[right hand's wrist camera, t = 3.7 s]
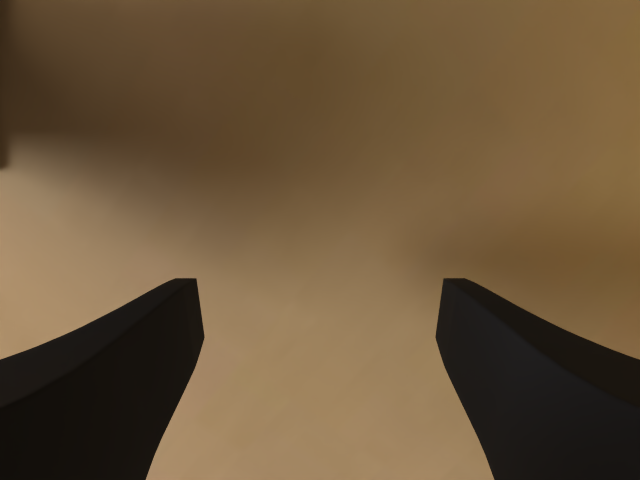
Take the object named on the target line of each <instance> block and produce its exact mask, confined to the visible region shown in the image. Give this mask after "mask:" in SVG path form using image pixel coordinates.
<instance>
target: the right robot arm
mask: <svg viewBox="0 0 640 480" xmlns="http://www.w3.org/2000/svg"><path fill="white" fill-rule="evenodd" d="M203 341H204V330H203V323H202V316H201V308H200V301H199V294H198V287H197V280H196V278H175V279H173V280H170V281H168V282H166V283H164V284H162V285H160V286H158V287H156V288H154V289H153V290H151V291H149V292H147V293H145V294H143V295H142V296H140V297H138V298H136V299H134V300H133V301H131V302H129V303H127V304H125V305H123V306H122V307H120V308H118V309H116V310H114V311H112V312H110V313H108V314H106V315H104V316H102V317H100V318H98V319H96V320H94V321H92V322H90V323H89V324H87V325H85V326H83V327H80V328H78V329H76V330H74V331H72V332H70V333H67V334H65V335H63V336H61V337H58V338H56V339H54V340H51V341H49V342H46V343H44V344H42V345H39V346H37V347H34V348H32V349H29V350H26V351H24V352H21V353H18V354H15V355H12V356H9V357H7V358H4V359H1V360H0V480H146V477H147V474H148V471H149V469H150V466H151V463H152V460H153V457H154V455H155V453H156V450H157V448H158V446H159V443H160V441H161V439H162V436H163V434H164V432H165V430H166V428H167V426H168V424H169V422H170V420H171V418H172V415H173V413H174V411H175V409H176V407H177V405H178V403H179V401H180V399H181V397H182V395H183V393H184V390H185V388H186V386H187V384H188V382H189V380H190V378H191V375H192V373H193V371H194V369H195V366H196V363H197V360H198V357H199V354H200V351H201V347H202V344H203ZM436 341H437V344H438V347H439V351H440V354H441V357H442V360H443V363H444V366H445V369H446V371H447V373H448V375H449V378H450V380H451V382H452V384H453V386H454V388H455V390H456V393H457V395H458V397H459V399H460V401H461V403H462V405H463V407H464V409H465V411H466V413H467V415H468V418H469V420H470V422H471V424H472V426H473V428H474V430H475V432H476V434H477V436H478V439H479V441H480V443H481V446H482V448H483V450H484V453H485V455H486V457H487V460H488V463H489V466H490V469H491V471H492V474H493V477H494V480H640V360H639V359H636V358H633V357H630V356H627V355H625V354H622V353H619V352H617V351H614V350H611V349H609V348H606V347H604V346H601V345H599V344H597V343H594V342H592V341H589V340H587V339H584V338H582V337H580V336H577V335H575V334H573V333H571V332H568V331H566V330H564V329H562V328H560V327H558V326H556V325H554V324H552V323H550V322H548V321H546V320H544V319H541V318H539V317H538V316H536V315H534V314H532V313H530V312H528V311H526V310H524V309H522V308H520V307H519V306H517V305H515V304H513V303H511V302H509V301H508V300H506V299H504V298H502V297H500V296H499V295H497V294H495V293H493V292H491V291H490V290H488V289H486V288H484V287H482V286H480V285H478V284H476V283H474V282H472V281H470V280H467V279H465V278H444V280H443V287H442V294H441V301H440V308H439V316H438V323H437V330H436Z"/></svg>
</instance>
